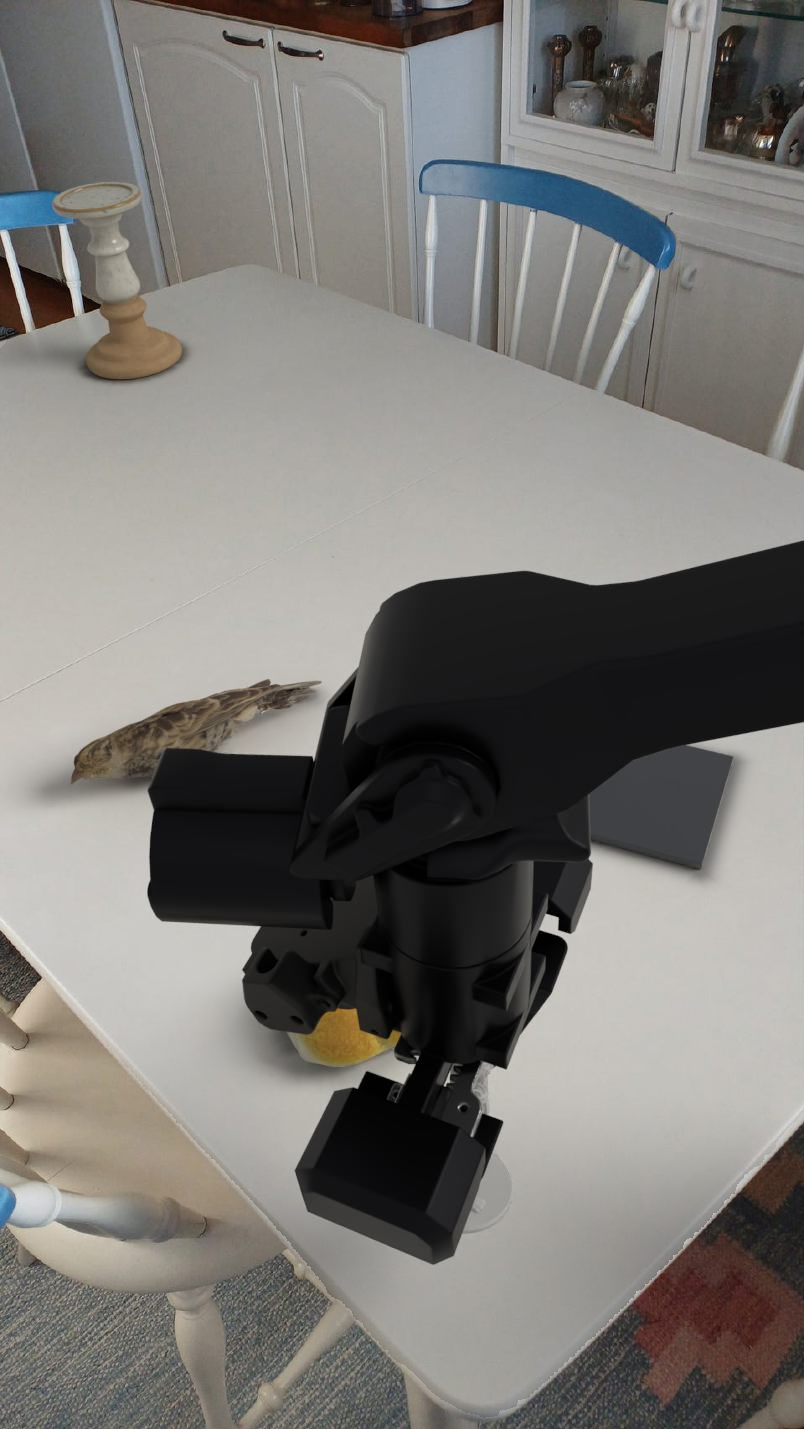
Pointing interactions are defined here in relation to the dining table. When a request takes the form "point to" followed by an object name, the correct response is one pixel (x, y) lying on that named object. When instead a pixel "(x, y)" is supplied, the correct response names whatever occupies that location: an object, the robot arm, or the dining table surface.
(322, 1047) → the bread roll
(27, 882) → the dining table surface
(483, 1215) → the figurine
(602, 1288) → the dining table surface
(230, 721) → the bird model
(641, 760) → the slate tile
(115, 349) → the candle holder
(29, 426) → the dining table surface
